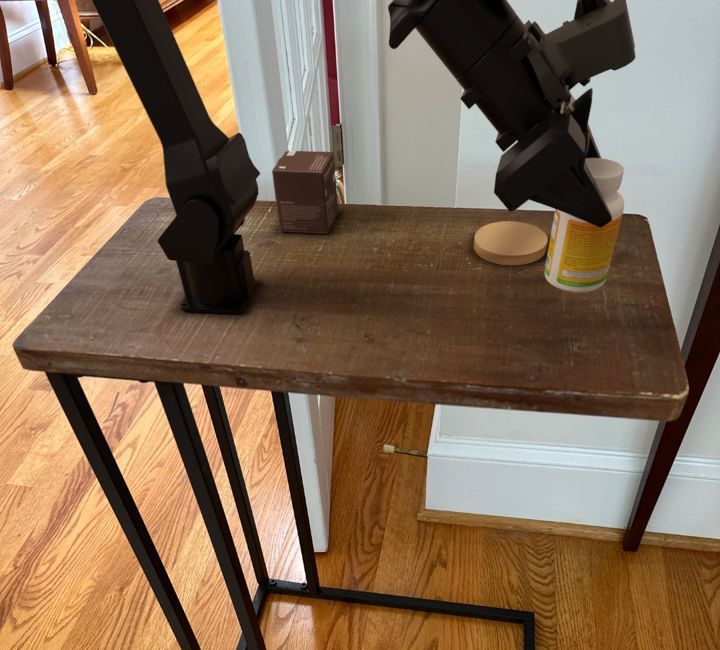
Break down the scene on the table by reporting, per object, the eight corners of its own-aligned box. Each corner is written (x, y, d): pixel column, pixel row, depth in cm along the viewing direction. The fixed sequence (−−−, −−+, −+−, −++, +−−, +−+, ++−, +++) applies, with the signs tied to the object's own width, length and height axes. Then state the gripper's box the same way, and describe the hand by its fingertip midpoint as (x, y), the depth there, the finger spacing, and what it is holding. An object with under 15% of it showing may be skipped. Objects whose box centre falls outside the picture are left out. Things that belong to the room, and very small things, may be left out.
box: (327, 235, 81) (322, 172, 75) (278, 232, 82) (270, 170, 76) (339, 212, 85) (334, 150, 80) (292, 210, 86) (285, 149, 81)
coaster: (472, 264, 75) (472, 253, 74) (475, 229, 80) (476, 219, 79) (547, 267, 74) (548, 256, 73) (545, 232, 79) (546, 222, 78)
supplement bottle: (618, 283, 60) (649, 170, 53) (571, 300, 59) (596, 187, 52) (577, 257, 64) (600, 148, 57) (531, 273, 62) (549, 163, 55)
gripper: (575, -17, 39) (716, 192, 45) (585, -73, 51) (695, 96, 57) (432, 123, 46) (569, 287, 52) (471, 45, 58) (578, 184, 64)
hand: (607, 207), depth 56 cm, fingers closed on supplement bottle, 5 cm apart
